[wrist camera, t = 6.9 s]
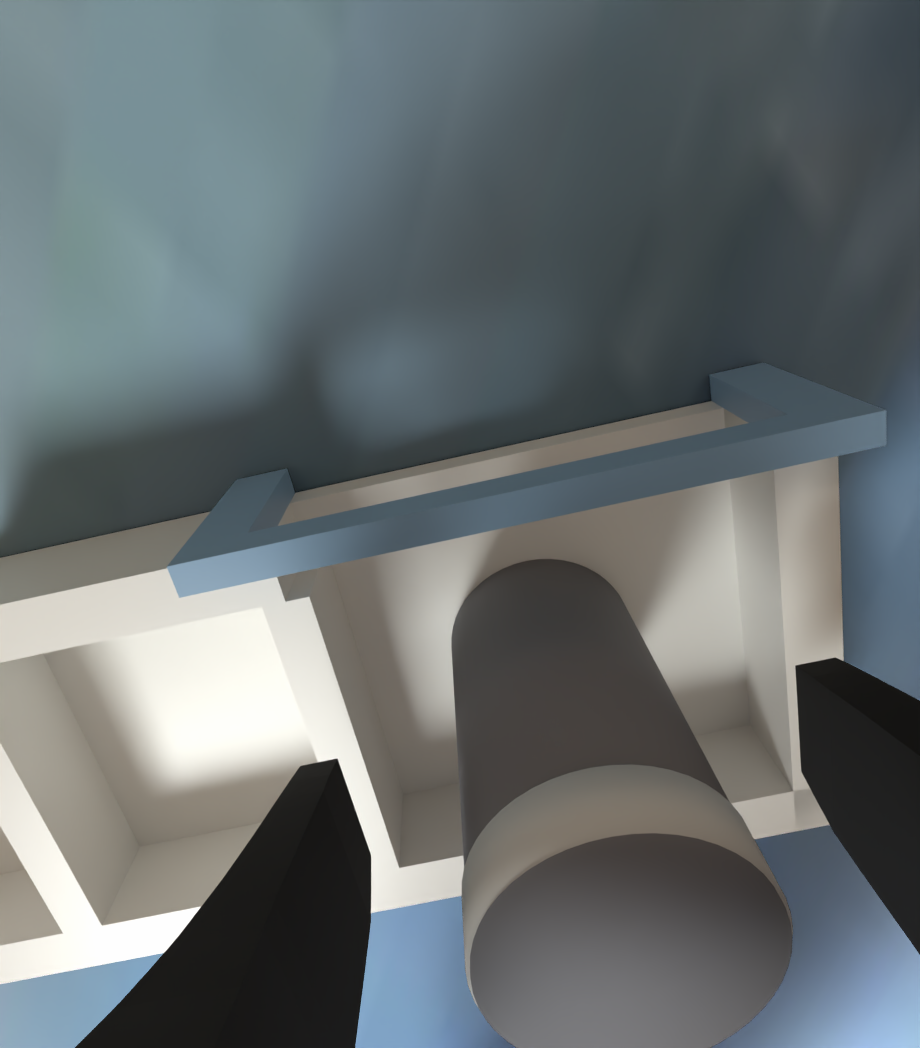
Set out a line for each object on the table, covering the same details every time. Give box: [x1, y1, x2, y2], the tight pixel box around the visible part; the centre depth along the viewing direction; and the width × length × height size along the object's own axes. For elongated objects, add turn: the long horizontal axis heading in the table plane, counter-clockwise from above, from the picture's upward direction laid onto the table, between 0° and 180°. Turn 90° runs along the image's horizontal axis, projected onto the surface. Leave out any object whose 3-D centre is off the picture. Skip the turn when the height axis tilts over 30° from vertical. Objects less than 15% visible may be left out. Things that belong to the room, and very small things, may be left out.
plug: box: [451, 559, 793, 1048], centre depth 11 cm, size 4×4×7 cm
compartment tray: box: [0, 362, 886, 984], centre depth 14 cm, size 8×24×4 cm, turn 102°
